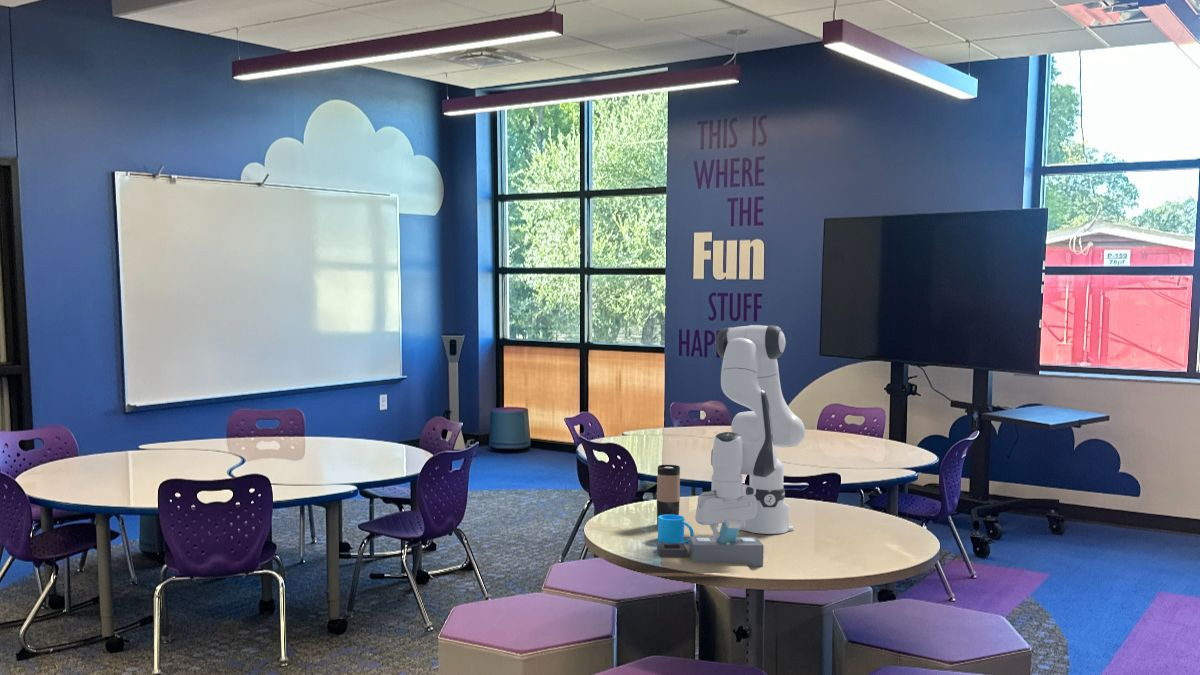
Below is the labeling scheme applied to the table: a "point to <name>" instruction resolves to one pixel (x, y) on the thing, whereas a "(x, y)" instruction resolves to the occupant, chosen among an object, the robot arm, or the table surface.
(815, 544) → the table surface
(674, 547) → the holster
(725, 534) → the plug
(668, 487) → the travel mug
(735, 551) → the panel
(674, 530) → the mug
